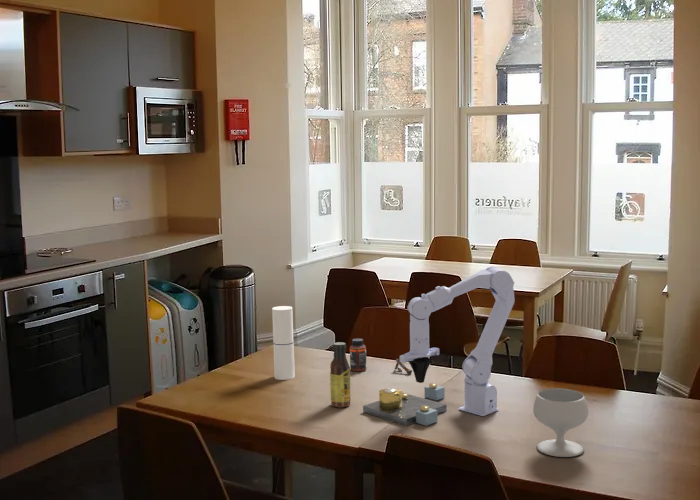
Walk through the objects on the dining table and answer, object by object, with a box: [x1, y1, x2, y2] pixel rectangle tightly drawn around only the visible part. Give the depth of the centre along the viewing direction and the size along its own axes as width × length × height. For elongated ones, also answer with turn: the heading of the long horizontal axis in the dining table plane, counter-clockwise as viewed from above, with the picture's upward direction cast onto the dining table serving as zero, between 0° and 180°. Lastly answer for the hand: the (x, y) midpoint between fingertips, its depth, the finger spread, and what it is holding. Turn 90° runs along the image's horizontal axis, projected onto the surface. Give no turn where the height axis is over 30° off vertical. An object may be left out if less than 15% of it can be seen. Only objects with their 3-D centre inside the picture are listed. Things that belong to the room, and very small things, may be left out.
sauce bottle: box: [329, 341, 352, 409], centre depth 252 cm, size 6×6×20 cm
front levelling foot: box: [424, 382, 446, 401], centre depth 258 cm, size 5×4×4 cm
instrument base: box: [362, 387, 448, 427], centre depth 245 cm, size 18×18×7 cm
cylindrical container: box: [271, 305, 296, 381], centre depth 285 cm, size 7×7×25 cm
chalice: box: [532, 387, 589, 458], centre depth 212 cm, size 14×14×15 cm
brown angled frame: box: [394, 358, 413, 376], centre depth 289 cm, size 2×8×4 cm, turn 38°
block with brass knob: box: [416, 406, 439, 426], centre depth 235 cm, size 4×5×4 cm
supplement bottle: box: [349, 338, 367, 373], centre depth 293 cm, size 6×6×11 cm
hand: (420, 382), depth 242 cm, fingers closed
